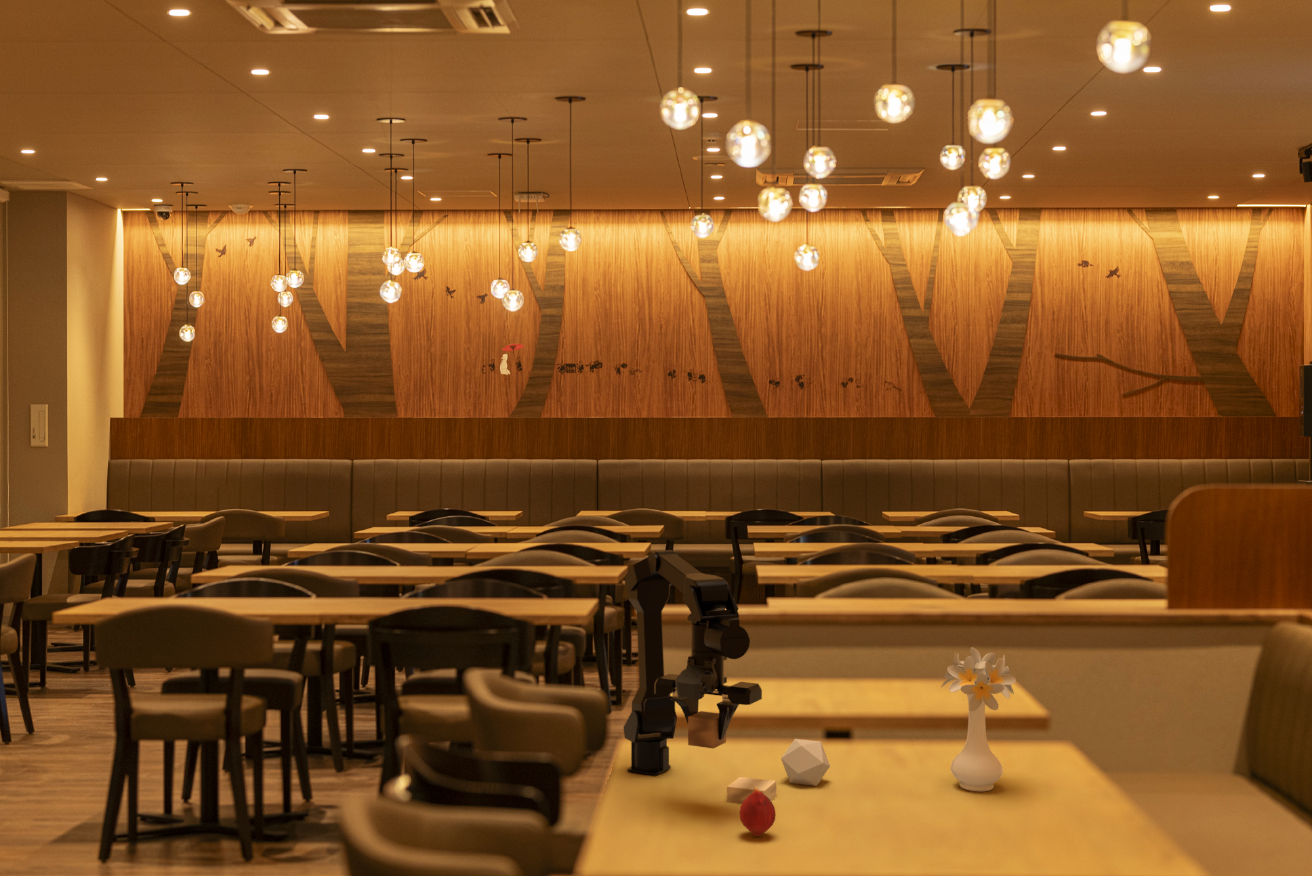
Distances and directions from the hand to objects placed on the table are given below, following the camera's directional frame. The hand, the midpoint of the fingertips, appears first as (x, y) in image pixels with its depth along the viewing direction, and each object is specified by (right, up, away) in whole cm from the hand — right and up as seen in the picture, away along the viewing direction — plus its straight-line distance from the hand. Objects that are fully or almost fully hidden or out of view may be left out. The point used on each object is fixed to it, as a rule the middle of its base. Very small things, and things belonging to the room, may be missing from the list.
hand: (707, 737), depth 228 cm
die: (+19, -12, +14) cm, 27 cm away
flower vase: (+51, -12, +10) cm, 53 cm away
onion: (+8, -12, -17) cm, 22 cm away
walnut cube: (0, -1, 0) cm, 1 cm away
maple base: (+8, -12, +4) cm, 15 cm away
